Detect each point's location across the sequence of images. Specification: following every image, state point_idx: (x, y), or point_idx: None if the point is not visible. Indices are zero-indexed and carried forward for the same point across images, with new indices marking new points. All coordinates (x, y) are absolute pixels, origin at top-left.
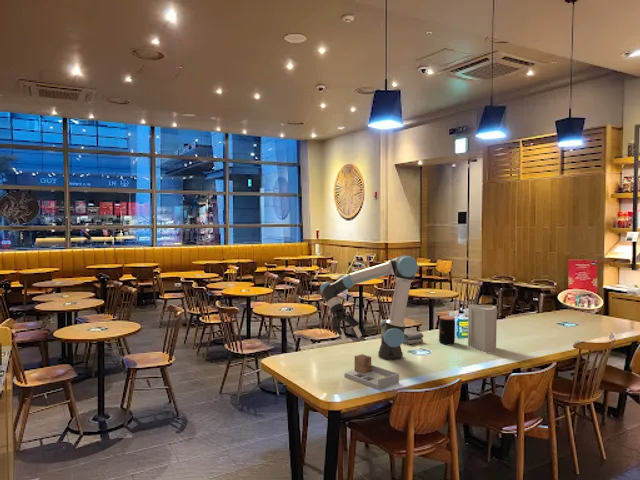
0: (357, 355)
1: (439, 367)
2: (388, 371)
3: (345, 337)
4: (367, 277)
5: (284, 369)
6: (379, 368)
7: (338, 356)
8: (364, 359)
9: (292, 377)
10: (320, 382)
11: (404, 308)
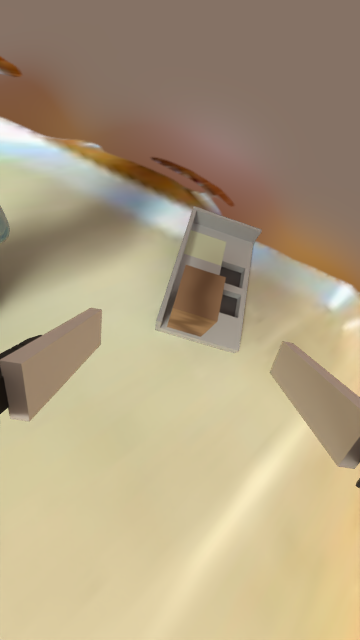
0: (201, 316)
1: (8, 177)
2: (189, 232)
3: (293, 344)
4: None
5: (336, 625)
6: (181, 258)
7: (5, 559)
8: (219, 277)
9: (356, 495)
10: None
11: None
